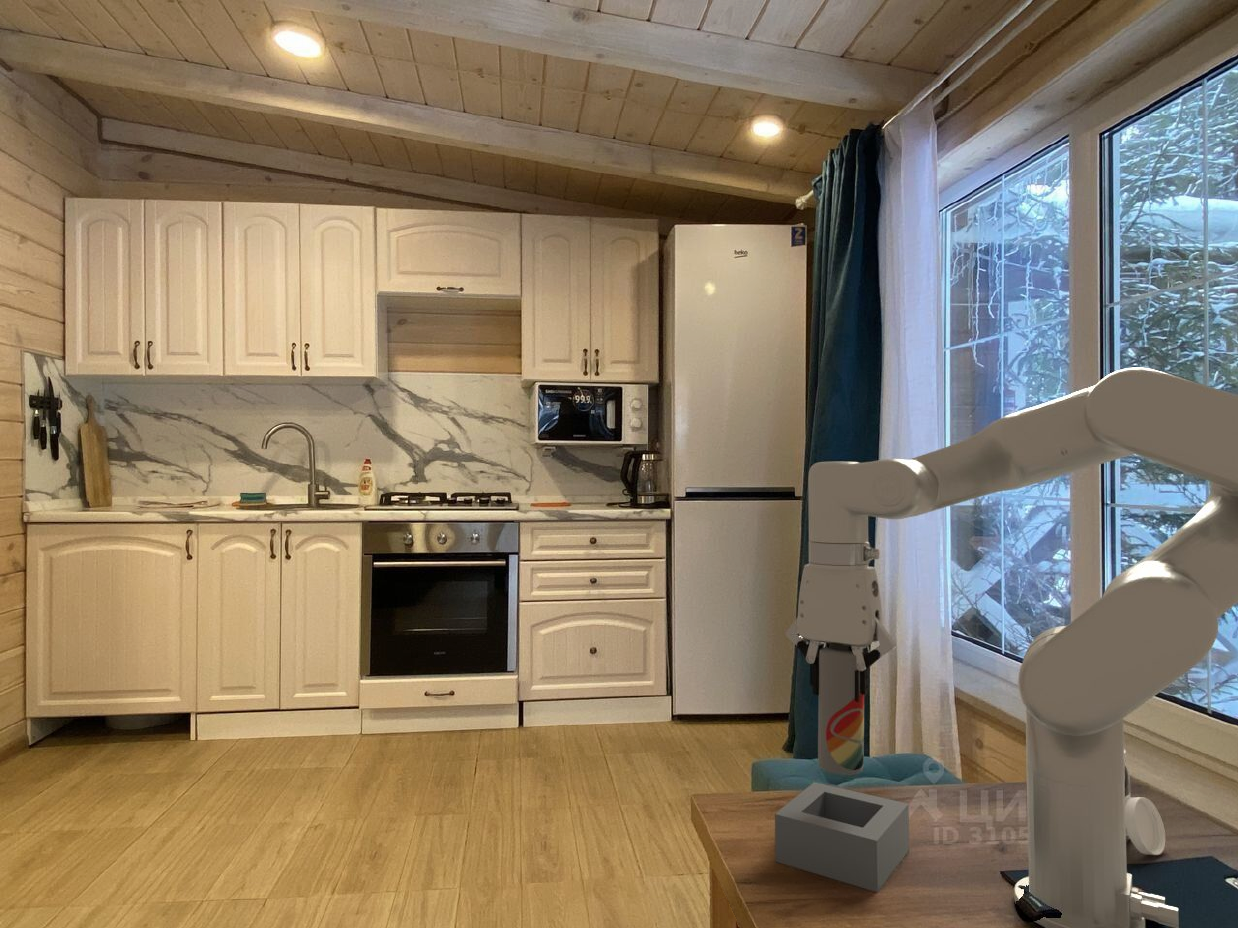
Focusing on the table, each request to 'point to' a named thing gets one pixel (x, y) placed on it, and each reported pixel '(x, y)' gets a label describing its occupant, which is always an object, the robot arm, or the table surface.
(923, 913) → the table surface
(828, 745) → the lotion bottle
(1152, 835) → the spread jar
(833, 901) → the table surface
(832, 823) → the sleeve
